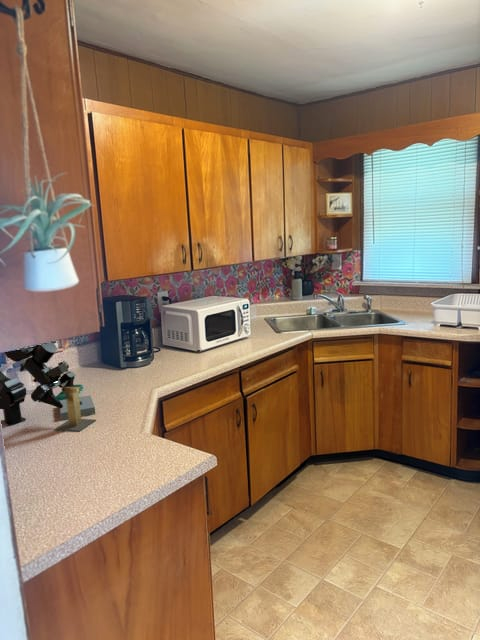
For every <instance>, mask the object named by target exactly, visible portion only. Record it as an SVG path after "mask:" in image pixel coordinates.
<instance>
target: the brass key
mask: <svg viewBox="0 0 480 640" xmlns="http://www.w3.org/2000/svg"><path fill="white" fill-rule="evenodd" d="M64 392H66V401H67V410H68V420H69V426H78V425H79V424H81V423H82V420H81V419H82V416H81V411H80V403H79V397H80V395H79V394H80V393H79V394H78V392H79V387H65V388H64Z"/></svg>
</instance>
